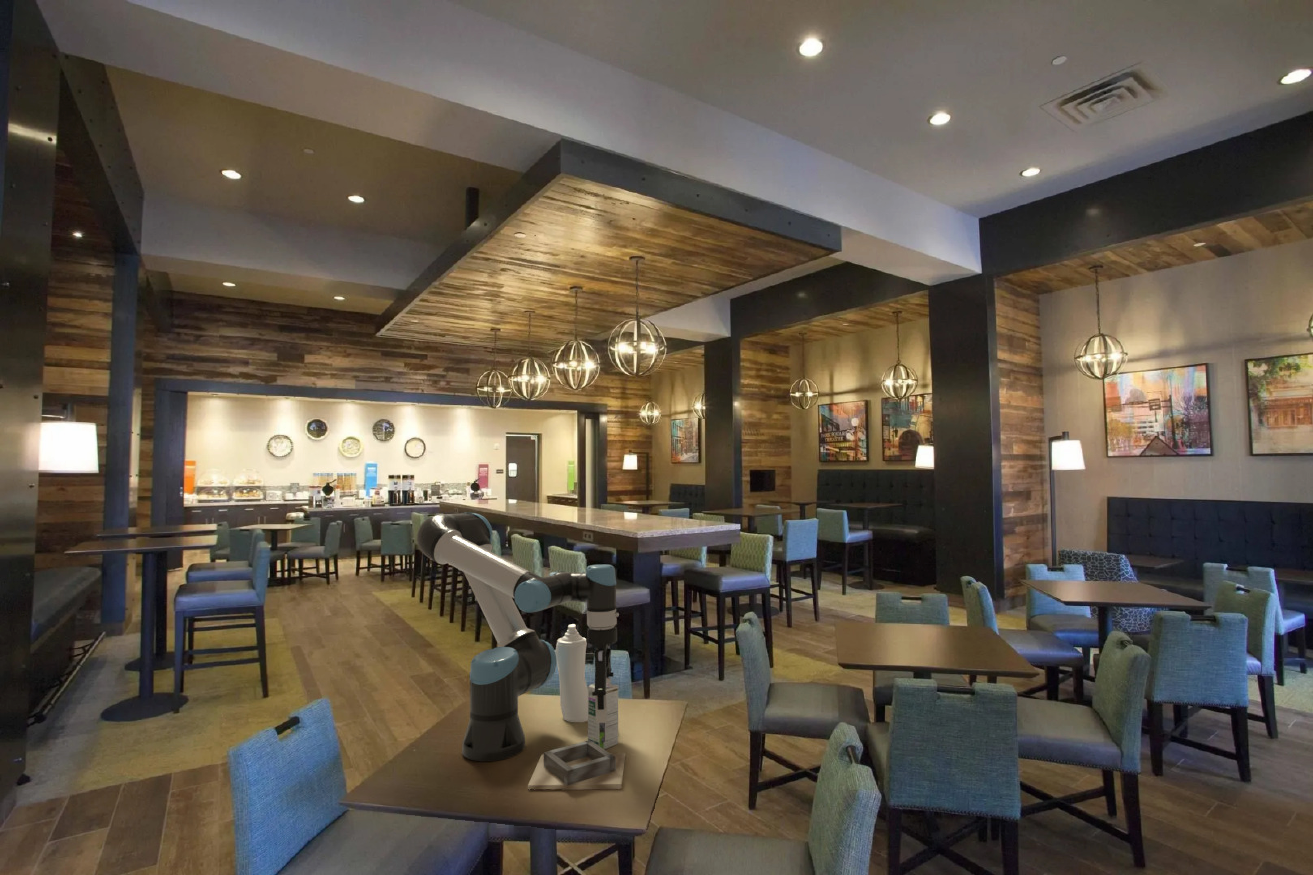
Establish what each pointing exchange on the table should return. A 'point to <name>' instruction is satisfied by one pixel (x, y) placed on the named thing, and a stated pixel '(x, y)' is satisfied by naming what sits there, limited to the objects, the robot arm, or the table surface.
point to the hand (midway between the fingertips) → (604, 712)
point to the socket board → (587, 784)
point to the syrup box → (607, 732)
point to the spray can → (572, 675)
